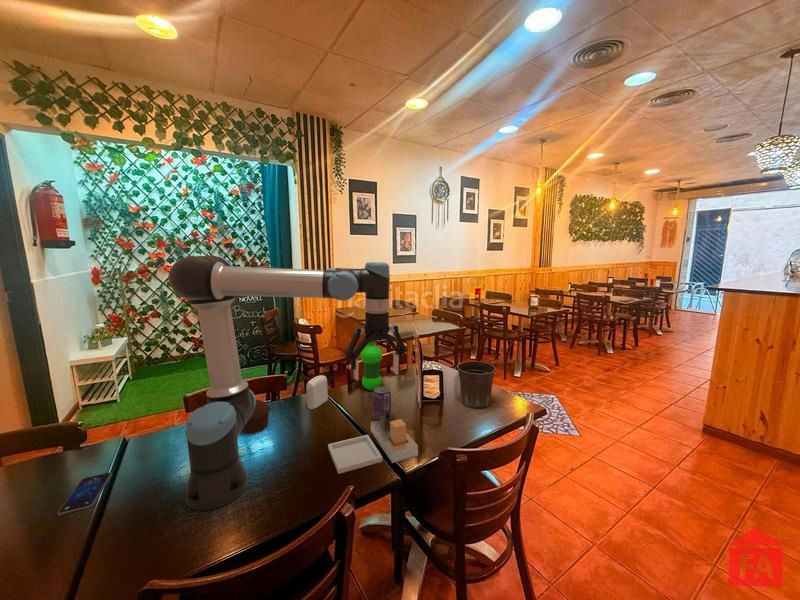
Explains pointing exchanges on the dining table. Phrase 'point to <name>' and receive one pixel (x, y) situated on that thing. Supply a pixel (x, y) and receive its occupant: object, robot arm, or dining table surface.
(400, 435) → the tan rectangular block
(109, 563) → the dining table surface
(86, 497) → the smartphone
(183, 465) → the dining table surface
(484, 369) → the plant pot
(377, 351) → the plastic bottle
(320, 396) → the photo printer
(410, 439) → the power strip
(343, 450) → the tray
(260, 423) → the muffin
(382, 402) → the beverage can
